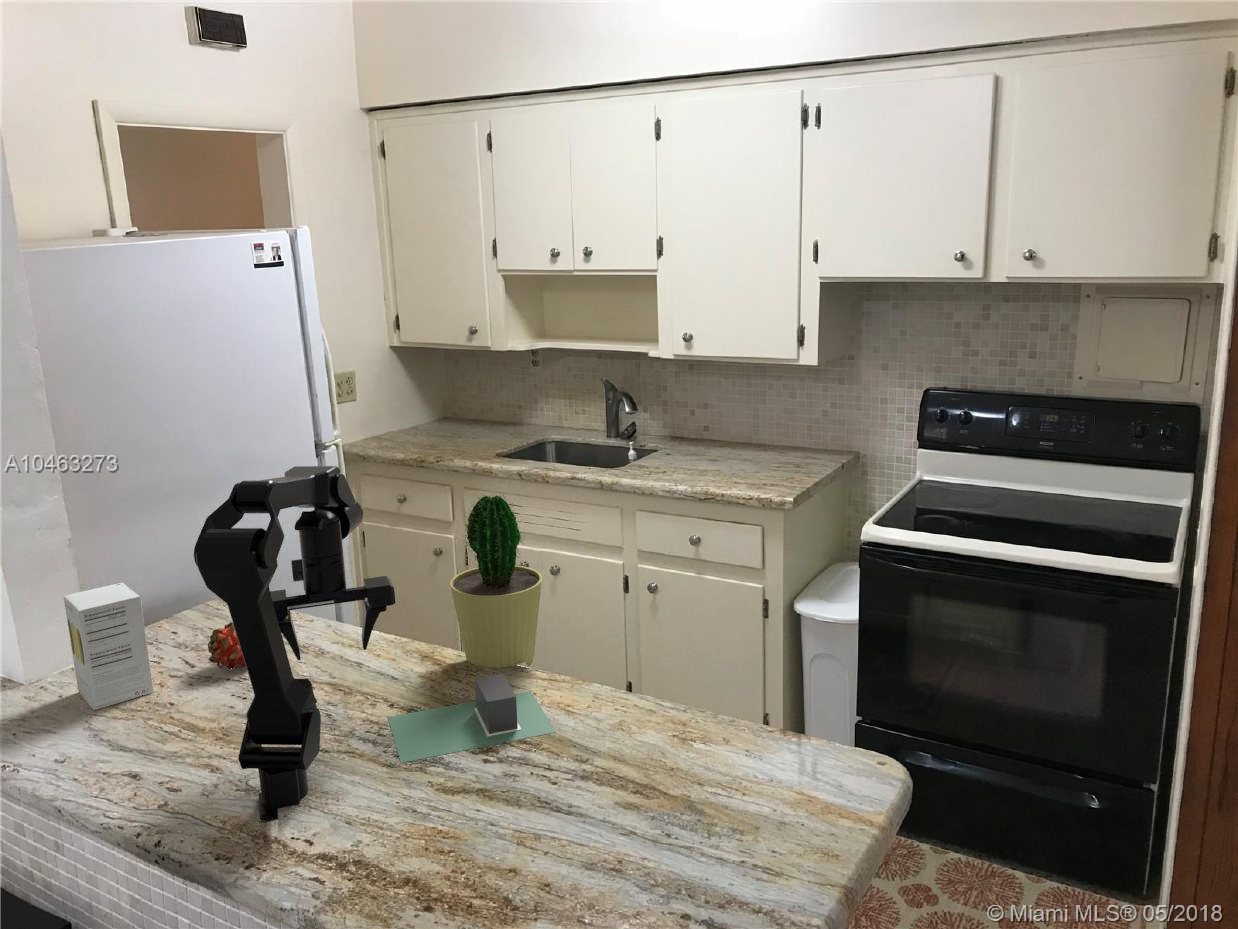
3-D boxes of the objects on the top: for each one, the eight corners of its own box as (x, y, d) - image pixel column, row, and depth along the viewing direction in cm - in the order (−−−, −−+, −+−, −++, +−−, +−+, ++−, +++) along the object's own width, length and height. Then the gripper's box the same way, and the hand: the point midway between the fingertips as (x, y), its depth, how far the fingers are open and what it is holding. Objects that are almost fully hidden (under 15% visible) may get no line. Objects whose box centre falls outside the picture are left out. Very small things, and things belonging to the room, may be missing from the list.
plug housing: (517, 728, 141) (516, 696, 139) (489, 734, 139) (487, 702, 138) (499, 695, 151) (498, 665, 150) (472, 700, 149) (470, 670, 148)
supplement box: (76, 692, 159) (61, 594, 155) (136, 674, 165) (123, 580, 161) (93, 711, 152) (77, 610, 148) (155, 693, 158) (141, 595, 154)
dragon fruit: (208, 687, 163) (260, 668, 174) (240, 664, 160) (291, 646, 171) (185, 643, 164) (238, 627, 175) (216, 619, 161) (268, 604, 172)
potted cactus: (560, 649, 171) (554, 484, 164) (520, 686, 157) (511, 507, 150) (483, 638, 177) (473, 477, 170) (438, 673, 163) (425, 500, 156)
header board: (556, 741, 140) (555, 712, 139) (401, 772, 133) (399, 742, 132) (531, 699, 153) (529, 673, 152) (388, 726, 145) (386, 698, 144)
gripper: (382, 529, 149) (390, 624, 153) (252, 544, 143) (264, 643, 147) (391, 550, 139) (399, 651, 142) (252, 567, 133) (264, 673, 136)
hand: (332, 654), depth 142 cm, fingers open, 9 cm apart
